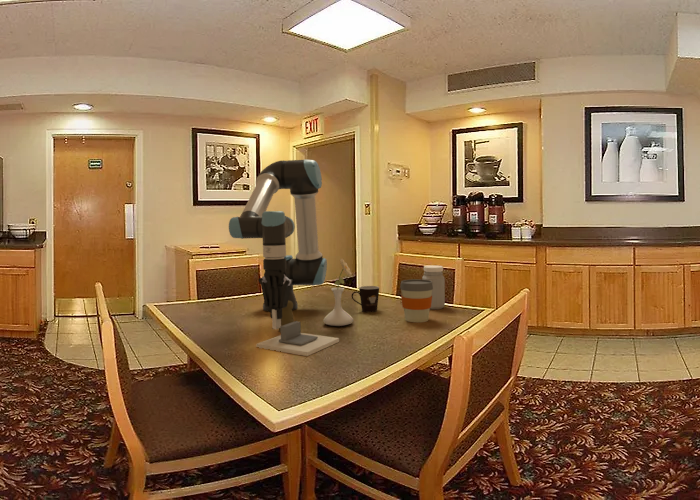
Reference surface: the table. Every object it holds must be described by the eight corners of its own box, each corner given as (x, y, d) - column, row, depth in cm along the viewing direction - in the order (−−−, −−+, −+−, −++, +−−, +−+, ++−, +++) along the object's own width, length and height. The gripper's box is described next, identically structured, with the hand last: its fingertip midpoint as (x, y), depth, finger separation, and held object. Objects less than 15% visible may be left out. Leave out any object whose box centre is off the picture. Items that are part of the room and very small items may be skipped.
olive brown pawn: (278, 328, 185) (277, 299, 184) (295, 328, 186) (294, 298, 185) (277, 333, 179) (276, 302, 178) (294, 332, 180) (294, 302, 179)
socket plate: (256, 347, 161) (256, 343, 161) (290, 334, 176) (290, 331, 176) (307, 356, 151) (307, 352, 151) (339, 341, 166) (339, 338, 166)
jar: (419, 309, 216) (419, 267, 214) (425, 304, 225) (424, 264, 223) (442, 310, 212) (442, 268, 211) (446, 306, 221) (446, 265, 220)
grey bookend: (278, 341, 162) (278, 326, 162) (295, 335, 170) (295, 320, 169) (301, 345, 157) (300, 329, 157) (317, 338, 165) (317, 323, 165)
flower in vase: (343, 329, 182) (341, 261, 180) (317, 326, 188) (315, 259, 186) (361, 322, 193) (360, 257, 191) (336, 319, 199) (335, 256, 197)
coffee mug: (380, 308, 218) (379, 285, 217) (379, 312, 210) (378, 289, 209) (353, 308, 219) (352, 285, 218) (351, 312, 211) (351, 289, 210)
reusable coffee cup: (412, 324, 188) (412, 285, 186) (394, 318, 199) (394, 281, 197) (439, 320, 193) (439, 282, 192) (420, 314, 204) (420, 278, 203)
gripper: (251, 258, 166) (254, 328, 168) (283, 259, 159) (285, 332, 161) (266, 256, 172) (269, 323, 174) (297, 257, 165) (299, 327, 168)
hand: (276, 328), depth 168 cm, fingers closed
